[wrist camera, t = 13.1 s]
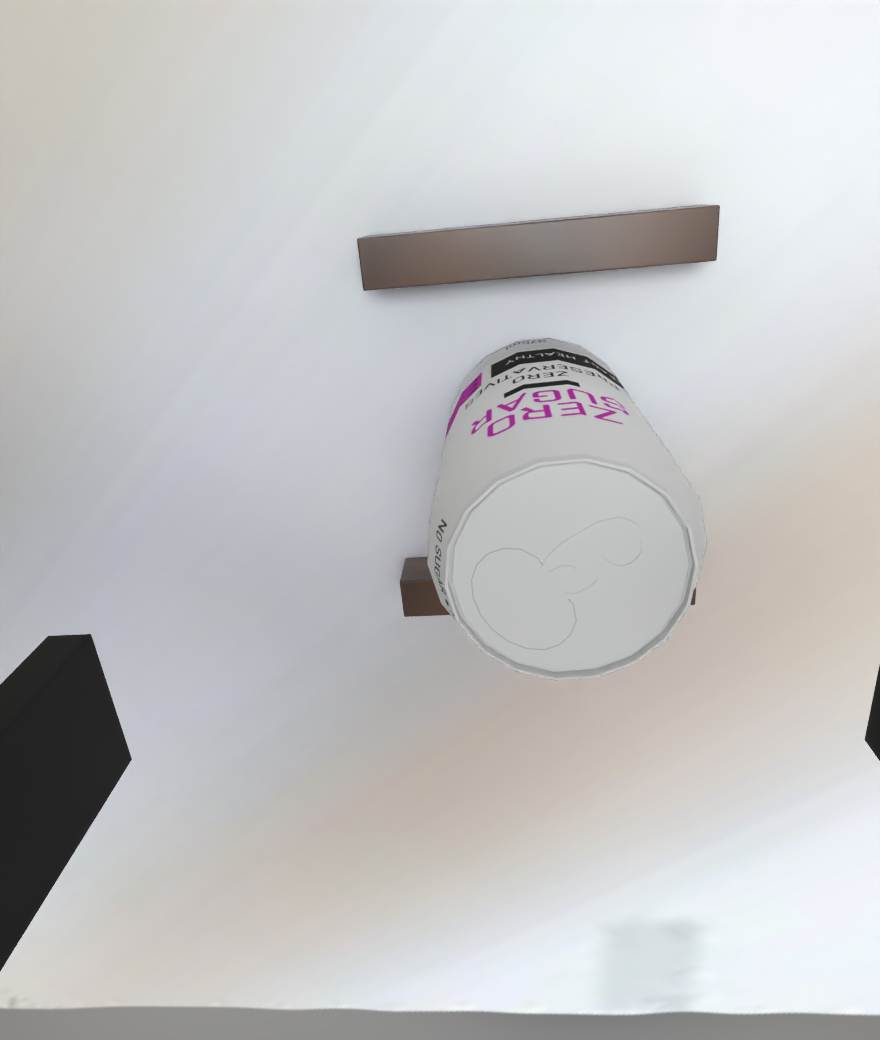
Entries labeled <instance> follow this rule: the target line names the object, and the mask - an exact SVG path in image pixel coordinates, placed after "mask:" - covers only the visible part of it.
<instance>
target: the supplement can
mask: <svg viewBox="0 0 880 1040" xmlns="http://www.w3.org/2000/svg"><path fill="white" fill-rule="evenodd" d="M706 544H707V538H706V532H705V527H704V521H703V515H702V510H701V504H700V498H699V496H698V495H697V493H696V492H695V490H694V489H693V487H692V486H691V484H690V482H689V481H688V479H687V478H686V476H685V475H684V473H683V472H682V470H681V469H680V467H679V466H678V464H677V463H676V461H675V460H674V458H673V457H672V455H671V454H670V453H669V451H668V450H667V448H666V447H665V446H664V444H663V443H662V441H661V440H660V438H659V437H658V436H657V434H656V433H655V431H654V430H653V429H652V427H651V426H650V424H649V423H648V422H647V420H646V419H645V417H644V416H643V415H642V413H641V412H640V410H639V409H638V407H637V406H636V405H635V403H634V402H633V400H632V399H631V398H630V396H629V395H628V393H627V392H626V391H625V389H624V388H623V386H622V385H621V384H620V382H619V381H618V379H617V378H616V376H615V375H614V374H613V372H612V371H611V369H610V368H609V367H608V365H607V364H606V363H604V362H603V361H601V360H600V359H599V358H597V357H596V356H594V355H593V354H591V353H590V352H589V351H587V350H586V349H584V348H583V347H581V346H579V345H575V344H571V343H567V342H562V341H558V340H554V339H550V338H546V339H537V340H528V341H519V342H515V343H513V344H511V345H508V346H506V347H504V348H502V349H500V350H498V351H496V352H494V353H492V354H490V355H488V356H486V357H485V358H484V359H483V360H482V361H481V362H480V364H479V365H478V366H477V367H476V368H475V369H474V370H473V371H472V372H471V373H470V374H469V375H468V376H467V377H466V378H465V379H464V381H463V383H462V385H461V387H460V390H459V392H458V394H457V396H456V399H455V401H454V403H453V405H452V408H451V412H450V418H449V423H448V428H447V433H446V438H445V443H444V448H443V454H442V459H441V464H440V469H439V474H438V479H437V484H436V490H435V495H434V500H433V505H432V510H431V515H430V520H429V540H428V559H427V564H428V567H429V570H430V573H431V576H432V579H433V582H434V584H435V587H436V590H437V593H438V596H439V599H440V602H441V604H442V605H443V606H444V607H445V609H446V610H447V611H448V612H449V613H450V614H451V616H452V617H453V618H454V619H455V620H456V622H457V623H458V624H459V625H460V626H461V628H462V629H463V630H464V631H465V632H466V634H467V635H468V636H469V637H470V638H471V639H472V641H473V642H474V643H475V644H476V645H477V647H478V648H479V649H480V650H481V651H482V652H484V653H485V654H487V655H489V656H490V657H492V658H494V659H495V660H497V661H499V662H501V663H502V664H504V665H506V666H507V667H509V668H511V669H512V670H514V671H517V672H521V673H525V674H530V675H534V676H538V677H543V678H547V679H551V680H568V679H584V678H597V677H600V676H602V675H605V674H608V673H611V672H613V671H616V670H619V669H622V668H624V667H627V666H630V665H633V664H635V663H637V662H638V661H639V660H641V659H642V658H643V657H645V656H646V655H647V654H648V653H650V652H651V651H652V650H654V649H655V648H656V647H658V646H659V645H660V644H662V643H663V642H664V641H666V640H667V639H668V638H669V636H670V635H671V633H672V632H673V630H674V629H675V627H676V626H677V624H678V623H679V621H680V620H681V618H682V617H683V615H684V614H685V612H686V611H687V610H688V608H689V607H690V604H691V599H692V595H693V590H694V589H695V587H696V586H697V584H698V580H699V575H700V571H701V566H702V562H703V557H704V553H705V548H706Z"/></svg>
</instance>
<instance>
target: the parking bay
mask: <svg viewBox="0 0 880 1040" xmlns="http://www.w3.org/2000/svg"><path fill="white" fill-rule="evenodd" d="M719 210H720V206H719V205H694V206H683V207H673V208H662V209H651V210H640V211H629V212H619V213H608V214H597V215H586V216H575V217H565V218H554V219H543V220H532V221H521V222H511V223H500V224H489V225H478V226H467V227H457V228H446V229H435V230H424V231H413V232H403V233H392V234H381V235H370V236H365V237H362V238H358V239H357V242H358V250H359V258H360V266H361V274H362V282H363V290H364V291H367V290H379V289H390V288H402V287H414V286H426V285H437V284H449V283H461V282H473V281H484V280H496V279H508V278H519V277H531V276H543V275H555V274H566V273H578V272H590V271H602V270H613V269H625V268H637V267H648V266H660V265H672V264H684V263H695V262H707V261H716V258H717V242H718V226H719ZM427 559H428V558H409V559H405V563H404V567H403V571H402V576H401V580H400V587H401V595H402V603H403V611H404V616H405V617H408V616H432V615H451V614H450V613H449V612H448V611H447V610H446V609H445V607H444V606H443V605H442V604H441V602H440V599H439V596H438V593H437V590H436V587H435V584H434V582H433V579H432V576H431V573H430V570H429V567H428V564H427ZM695 596H696V587H695V589H694V590H693V595H692V599H691V604H690V605H694V604H695Z"/></svg>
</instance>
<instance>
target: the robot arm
mask: <svg viewBox="0 0 880 1040" xmlns="http://www.w3.org/2000/svg"><path fill="white" fill-rule="evenodd" d="M865 741H866V742H867V743H868V745H869V746H870V748H871V749H872V751H873V752H874V753H875V755H876V756H877V758H878V759H879V760H880V666H879V671H878V676H877V681H876V686H875V691H874V696H873V701H872V706H871V711H870V716H869V721H868V726H867V731H866V736H865ZM131 760H132V759H131V755H130V752H129V749H128V746H127V743H126V740H125V737H124V734H123V731H122V728H121V725H120V722H119V719H118V716H117V713H116V710H115V707H114V703H113V700H112V697H111V694H110V691H109V688H108V685H107V682H106V679H105V676H104V673H103V670H102V667H101V664H100V661H99V658H98V654H97V651H96V648H95V645H94V642H93V639H92V636H91V634H85V635H61V636H48V637H47V638H46V639H45V640H44V641H43V642H42V643H41V644H40V645H39V646H38V647H37V648H36V649H35V650H34V651H33V652H32V653H31V654H30V655H29V656H28V657H27V658H26V659H25V660H24V661H23V662H22V663H21V664H20V665H19V666H18V667H17V668H16V669H15V670H14V671H13V672H12V673H11V674H10V675H9V676H8V677H7V679H6V680H5V681H4V682H3V683H2V684H1V685H0V971H1V969H2V968H3V966H4V964H5V963H6V961H7V960H8V958H9V956H10V955H11V953H12V951H13V950H14V948H15V947H16V945H17V943H18V942H19V940H20V939H21V937H22V935H23V934H24V932H25V931H26V929H27V927H28V926H29V924H30V922H31V921H32V919H33V918H34V916H35V914H36V913H37V911H38V910H39V908H40V906H41V905H42V903H43V902H44V900H45V898H46V897H47V895H48V893H49V892H50V890H51V889H52V887H53V885H54V884H55V882H56V881H57V879H58V877H59V876H60V874H61V873H62V871H63V869H64V868H65V866H66V864H67V863H68V861H69V860H70V858H71V856H72V855H73V853H74V852H75V850H76V848H77V847H78V845H79V844H80V842H81V840H82V839H83V837H84V835H85V834H86V832H87V831H88V829H89V827H90V826H91V824H92V823H93V821H94V819H95V818H96V816H97V815H98V813H99V811H100V810H101V808H102V806H103V805H104V803H105V802H106V800H107V798H108V797H109V795H110V794H111V792H112V790H113V789H114V787H115V785H116V784H117V782H118V781H119V779H120V777H121V776H122V774H123V773H124V771H125V769H126V768H127V766H128V765H129V763H130V761H131Z"/></svg>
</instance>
